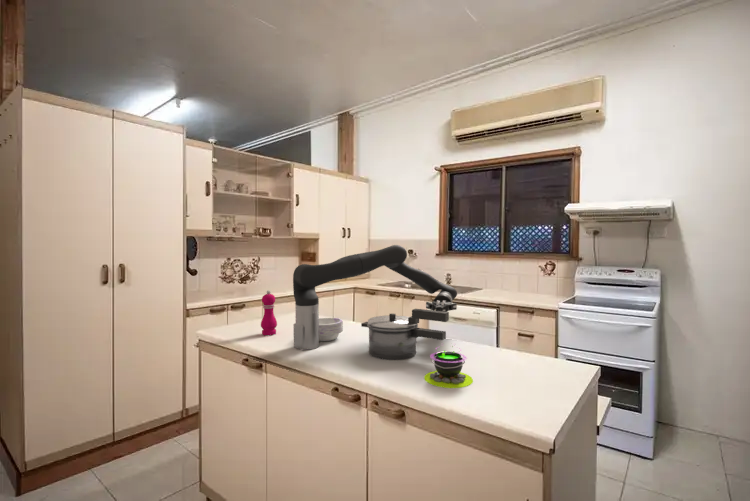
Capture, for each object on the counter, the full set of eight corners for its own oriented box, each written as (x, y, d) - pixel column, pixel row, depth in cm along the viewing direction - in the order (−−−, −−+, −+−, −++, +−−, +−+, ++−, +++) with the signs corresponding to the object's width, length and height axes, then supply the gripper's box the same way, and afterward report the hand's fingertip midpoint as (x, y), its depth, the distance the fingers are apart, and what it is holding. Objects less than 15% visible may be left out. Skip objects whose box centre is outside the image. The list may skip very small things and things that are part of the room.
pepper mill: (274, 336, 175) (274, 291, 174) (258, 335, 175) (258, 291, 174) (279, 332, 182) (278, 289, 181) (263, 332, 182) (263, 289, 181)
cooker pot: (350, 353, 148) (350, 324, 147) (377, 342, 164) (376, 316, 164) (433, 369, 130) (433, 336, 129) (454, 354, 146) (454, 325, 145)
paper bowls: (303, 336, 174) (303, 318, 173) (336, 332, 180) (336, 315, 180) (313, 345, 160) (313, 325, 160) (347, 340, 166) (347, 322, 166)
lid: (358, 325, 146) (358, 308, 145) (383, 316, 161) (383, 301, 161) (436, 336, 129) (436, 317, 129) (456, 325, 145) (456, 308, 145)
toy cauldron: (416, 383, 118) (416, 347, 118) (433, 368, 131) (433, 336, 131) (465, 392, 111) (466, 353, 111) (478, 375, 124) (478, 341, 124)
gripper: (427, 293, 168) (421, 299, 151) (458, 293, 165) (456, 300, 148) (427, 310, 168) (421, 318, 152) (458, 311, 165) (456, 320, 148)
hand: (439, 309), depth 150 cm, fingers closed
